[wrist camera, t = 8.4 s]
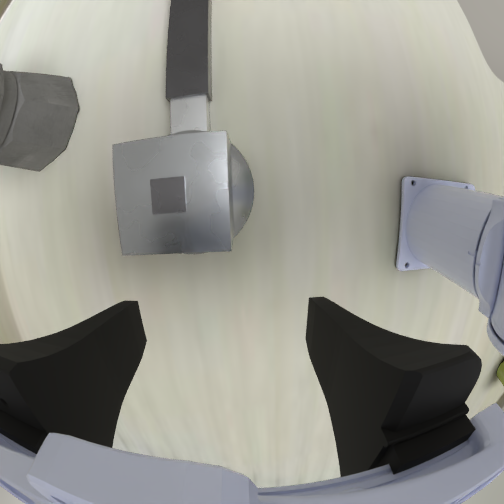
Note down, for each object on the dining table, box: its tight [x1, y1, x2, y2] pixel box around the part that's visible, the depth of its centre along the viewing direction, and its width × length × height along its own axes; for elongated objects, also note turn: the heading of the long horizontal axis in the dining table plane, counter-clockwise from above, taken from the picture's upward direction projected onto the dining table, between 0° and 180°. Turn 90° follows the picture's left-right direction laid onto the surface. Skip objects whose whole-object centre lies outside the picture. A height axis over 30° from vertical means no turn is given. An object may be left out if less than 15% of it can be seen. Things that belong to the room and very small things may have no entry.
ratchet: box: [166, 0, 254, 254], centre depth 14 cm, size 8×22×5 cm, turn 2°
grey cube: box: [113, 131, 234, 255], centre depth 14 cm, size 5×5×5 cm
